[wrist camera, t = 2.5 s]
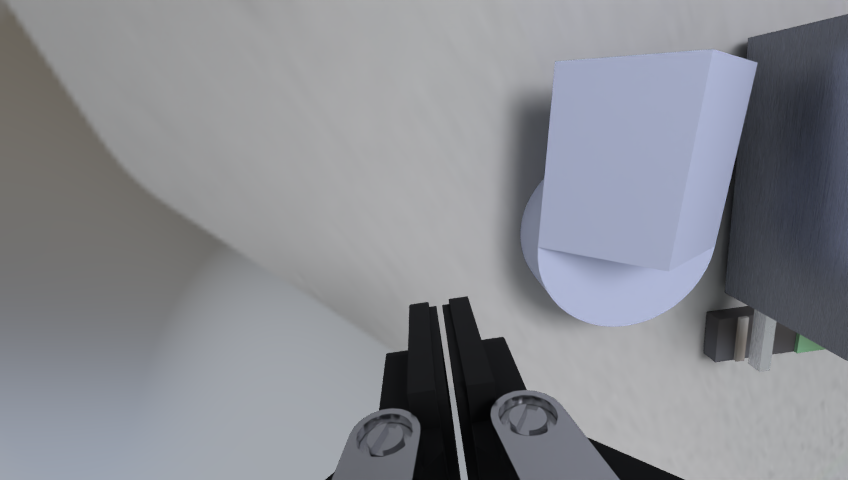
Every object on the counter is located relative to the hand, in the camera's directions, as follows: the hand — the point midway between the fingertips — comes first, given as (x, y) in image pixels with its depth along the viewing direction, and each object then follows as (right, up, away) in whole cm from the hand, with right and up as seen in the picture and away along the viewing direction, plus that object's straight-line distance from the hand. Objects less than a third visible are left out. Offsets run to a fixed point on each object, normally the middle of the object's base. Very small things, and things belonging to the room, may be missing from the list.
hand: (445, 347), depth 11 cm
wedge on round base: (+9, +6, +11) cm, 16 cm away
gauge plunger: (+22, +5, +11) cm, 25 cm away
